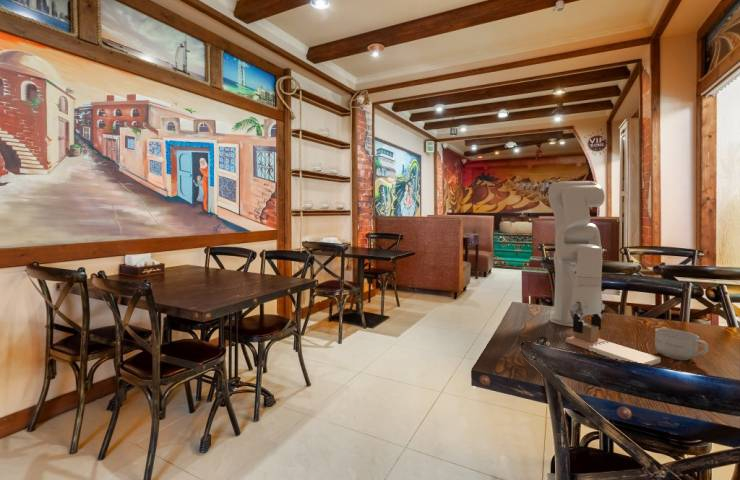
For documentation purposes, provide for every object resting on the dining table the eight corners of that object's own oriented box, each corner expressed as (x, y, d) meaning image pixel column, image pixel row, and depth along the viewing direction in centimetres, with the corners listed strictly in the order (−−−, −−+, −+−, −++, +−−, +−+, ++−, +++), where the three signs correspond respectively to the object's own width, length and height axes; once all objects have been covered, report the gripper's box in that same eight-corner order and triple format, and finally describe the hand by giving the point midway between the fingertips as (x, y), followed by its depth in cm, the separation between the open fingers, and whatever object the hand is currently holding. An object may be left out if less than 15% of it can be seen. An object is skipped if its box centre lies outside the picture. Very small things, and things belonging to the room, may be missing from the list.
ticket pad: (607, 345, 126) (607, 340, 126) (660, 362, 111) (660, 357, 111) (588, 350, 121) (588, 345, 121) (641, 368, 107) (641, 363, 107)
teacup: (645, 351, 121) (646, 327, 120) (675, 349, 122) (676, 326, 121) (685, 368, 107) (686, 342, 106) (718, 367, 108) (720, 341, 107)
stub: (584, 337, 133) (584, 320, 133) (606, 344, 126) (607, 326, 125) (565, 341, 129) (566, 324, 128) (587, 349, 122) (588, 330, 121)
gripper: (593, 278, 133) (592, 325, 134) (561, 281, 125) (560, 330, 126) (615, 281, 126) (613, 330, 127) (582, 284, 119) (581, 336, 119)
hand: (586, 330), depth 126 cm, fingers open, 9 cm apart
